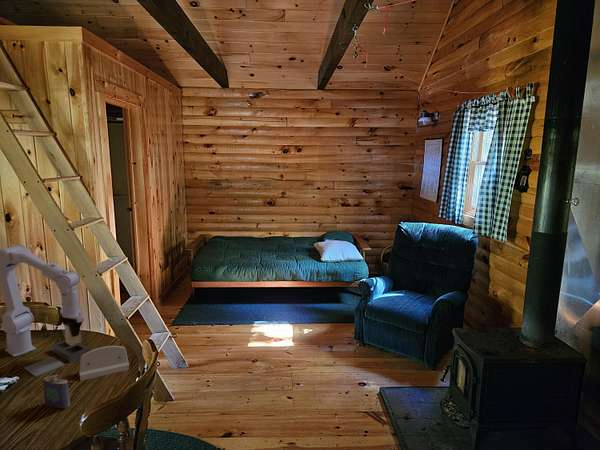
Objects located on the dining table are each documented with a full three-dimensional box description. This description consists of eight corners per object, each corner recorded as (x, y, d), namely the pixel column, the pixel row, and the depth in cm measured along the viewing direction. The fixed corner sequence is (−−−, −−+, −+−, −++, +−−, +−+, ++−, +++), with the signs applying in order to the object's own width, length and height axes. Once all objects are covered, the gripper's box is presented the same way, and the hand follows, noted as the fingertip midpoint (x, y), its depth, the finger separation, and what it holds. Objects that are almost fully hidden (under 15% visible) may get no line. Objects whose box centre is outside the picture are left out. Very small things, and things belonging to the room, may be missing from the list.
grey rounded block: (79, 381, 137) (77, 352, 138) (79, 378, 141) (78, 351, 142) (129, 369, 144) (127, 342, 146) (128, 367, 149) (126, 341, 150)
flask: (72, 405, 123) (69, 375, 121) (64, 411, 120) (61, 380, 119) (49, 400, 126) (46, 370, 124) (41, 405, 123) (38, 375, 121)
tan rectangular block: (66, 342, 153) (64, 324, 152) (76, 339, 156) (74, 320, 155) (70, 345, 151) (69, 326, 149) (81, 341, 154) (79, 323, 153)
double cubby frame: (51, 350, 157) (50, 345, 157) (71, 343, 164) (70, 338, 164) (69, 362, 149) (69, 356, 148) (90, 354, 155) (90, 348, 155)
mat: (24, 368, 144) (24, 367, 144) (53, 357, 152) (52, 356, 152) (35, 377, 138) (35, 376, 138) (65, 365, 147) (64, 364, 147)
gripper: (89, 303, 150) (92, 335, 152) (71, 295, 158) (74, 326, 160) (71, 309, 144) (73, 342, 146) (53, 300, 152) (56, 332, 154)
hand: (72, 334), depth 153 cm, fingers closed on tan rectangular block, 4 cm apart
